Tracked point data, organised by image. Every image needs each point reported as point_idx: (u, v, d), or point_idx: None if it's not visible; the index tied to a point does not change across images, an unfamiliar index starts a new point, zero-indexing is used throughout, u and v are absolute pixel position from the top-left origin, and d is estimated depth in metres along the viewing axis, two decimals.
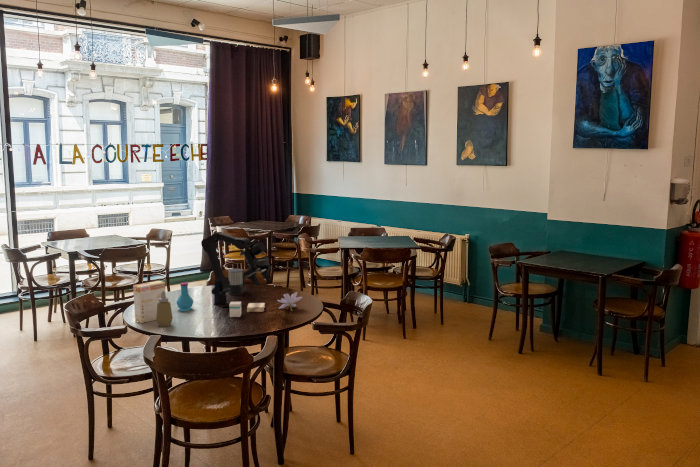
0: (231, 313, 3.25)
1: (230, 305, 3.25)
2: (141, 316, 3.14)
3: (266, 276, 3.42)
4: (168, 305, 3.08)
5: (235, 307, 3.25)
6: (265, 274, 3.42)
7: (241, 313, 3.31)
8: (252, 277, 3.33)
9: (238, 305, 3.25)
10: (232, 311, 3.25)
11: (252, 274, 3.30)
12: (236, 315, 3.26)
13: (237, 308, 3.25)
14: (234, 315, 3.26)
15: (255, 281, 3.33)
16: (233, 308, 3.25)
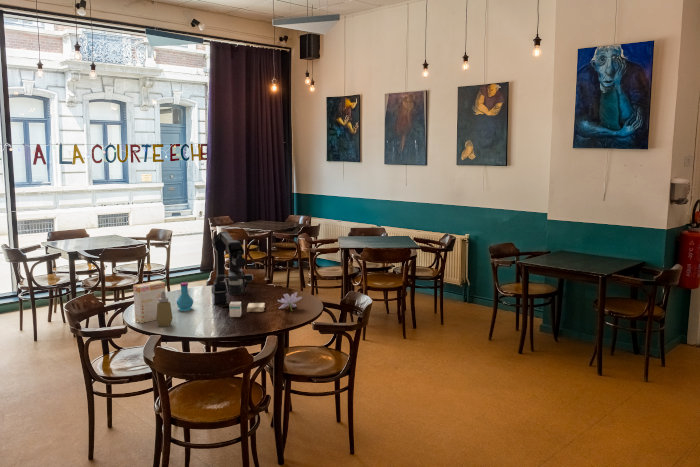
0: (231, 313, 3.25)
1: (230, 305, 3.25)
2: (141, 316, 3.14)
3: (244, 286, 3.27)
4: (168, 305, 3.08)
5: (235, 307, 3.25)
6: None
7: (241, 313, 3.31)
8: None
9: (238, 305, 3.25)
10: (232, 311, 3.25)
11: (219, 282, 3.23)
12: (236, 315, 3.26)
13: (237, 308, 3.25)
14: (234, 315, 3.26)
15: None
16: (233, 308, 3.25)
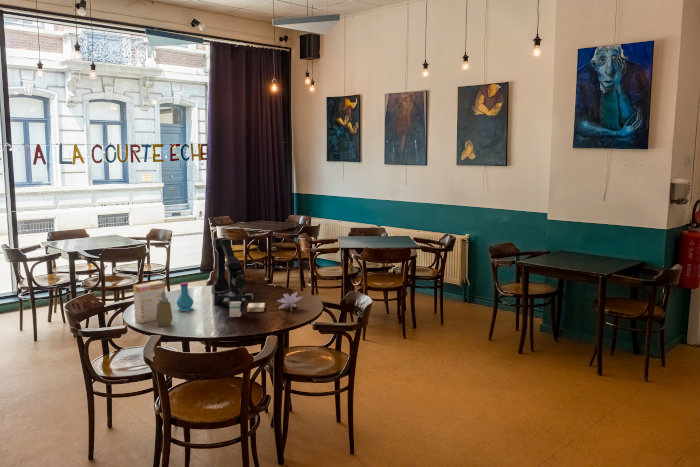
0: (231, 313, 3.25)
1: (230, 305, 3.25)
2: (141, 316, 3.14)
3: (241, 306, 3.28)
4: (168, 305, 3.08)
5: (235, 307, 3.25)
6: (241, 303, 3.28)
7: None
8: None
9: (238, 305, 3.25)
10: (232, 311, 3.25)
11: (222, 301, 3.25)
12: (236, 314, 3.26)
13: (237, 308, 3.25)
14: (234, 315, 3.26)
15: None
16: (233, 308, 3.25)
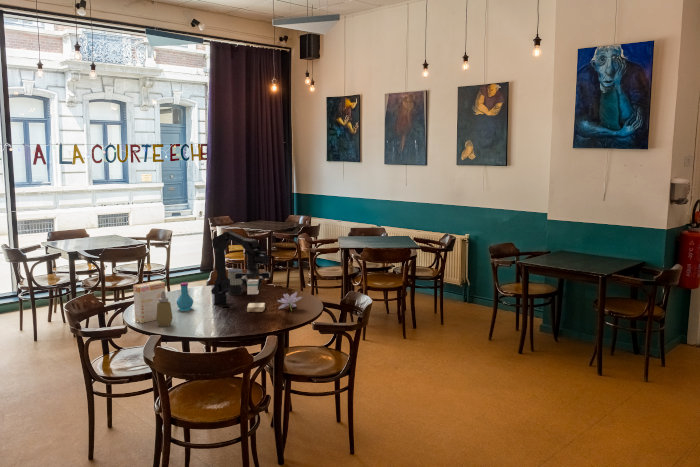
0: (249, 290, 3.34)
1: (248, 282, 3.33)
2: (141, 316, 3.14)
3: (258, 284, 3.36)
4: (168, 305, 3.08)
5: (253, 284, 3.34)
6: None
7: (258, 291, 3.40)
8: None
9: (255, 283, 3.33)
10: (249, 289, 3.34)
11: None
12: (253, 292, 3.34)
13: (254, 285, 3.34)
14: (252, 292, 3.34)
15: None
16: (251, 285, 3.34)
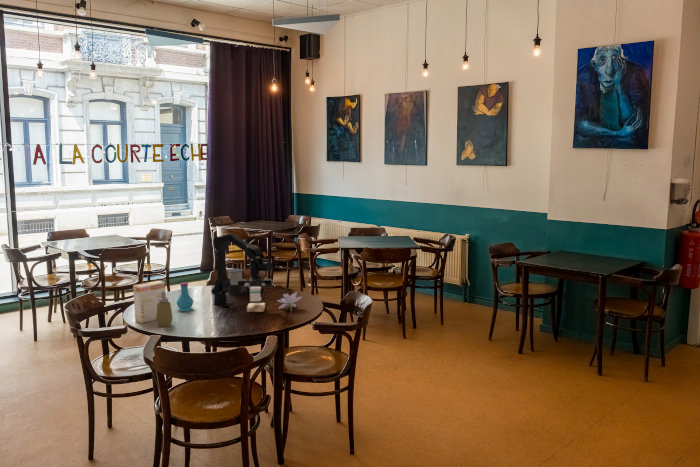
0: (251, 297, 3.36)
1: (250, 290, 3.35)
2: (141, 316, 3.14)
3: (261, 291, 3.39)
4: (168, 305, 3.08)
5: (255, 292, 3.36)
6: (261, 288, 3.39)
7: None
8: None
9: (258, 290, 3.36)
10: (252, 296, 3.36)
11: (243, 286, 3.35)
12: (256, 299, 3.36)
13: (257, 293, 3.36)
14: (254, 299, 3.36)
15: (248, 292, 3.38)
16: (253, 292, 3.36)
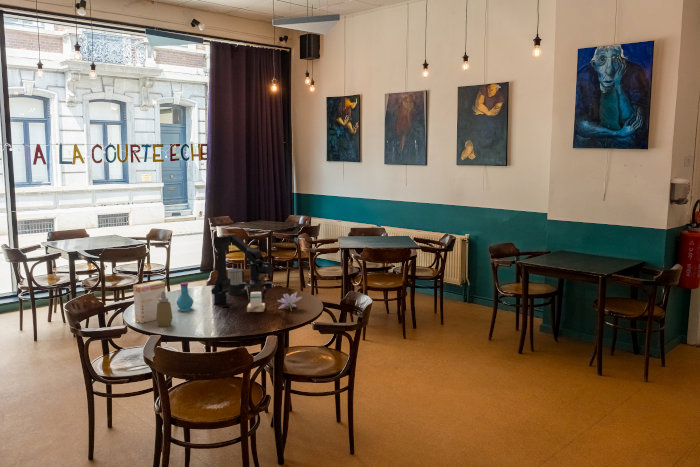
0: (252, 303, 3.37)
1: (251, 295, 3.36)
2: (141, 316, 3.14)
3: (263, 294, 3.39)
4: (168, 305, 3.08)
5: (256, 297, 3.36)
6: (263, 291, 3.39)
7: None
8: None
9: (259, 295, 3.36)
10: (252, 301, 3.36)
11: (241, 289, 3.36)
12: (256, 304, 3.37)
13: (258, 298, 3.36)
14: (255, 305, 3.37)
15: (246, 295, 3.39)
16: (254, 298, 3.36)
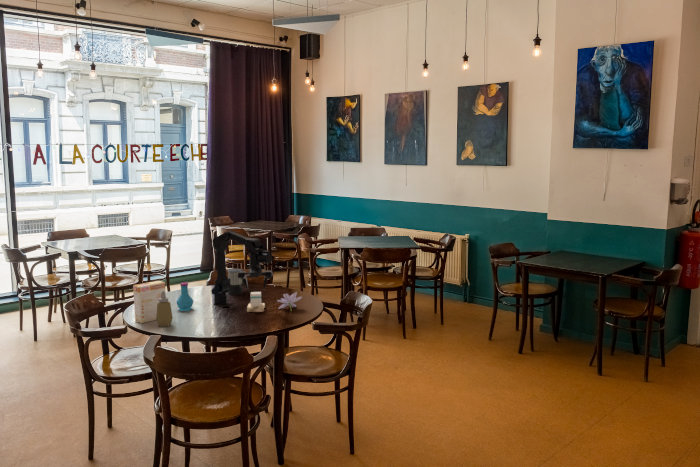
0: (252, 303, 3.37)
1: (251, 295, 3.36)
2: (141, 316, 3.14)
3: (264, 283, 3.38)
4: (168, 305, 3.08)
5: (256, 297, 3.36)
6: (264, 280, 3.38)
7: None
8: None
9: (259, 295, 3.36)
10: (253, 301, 3.36)
11: (240, 278, 3.35)
12: (257, 304, 3.37)
13: (258, 298, 3.36)
14: (255, 305, 3.37)
15: (245, 284, 3.38)
16: (254, 298, 3.36)
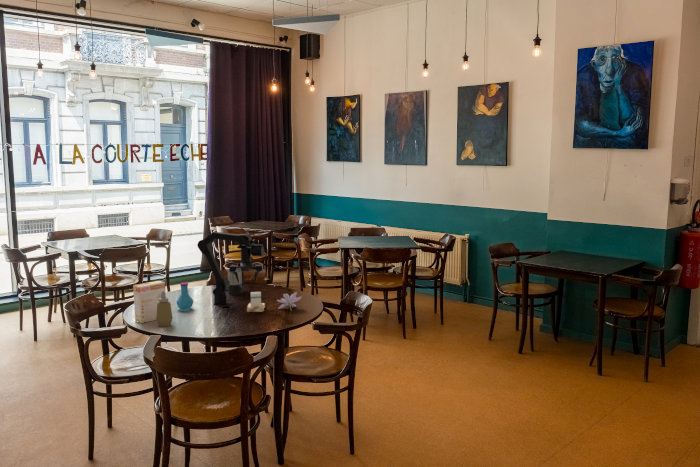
0: (252, 303, 3.36)
1: (251, 295, 3.36)
2: (141, 316, 3.14)
3: None
4: (168, 305, 3.08)
5: (256, 297, 3.36)
6: (255, 274, 3.48)
7: None
8: None
9: (259, 295, 3.36)
10: (253, 301, 3.36)
11: None
12: (257, 304, 3.37)
13: (258, 298, 3.37)
14: (255, 305, 3.37)
15: None
16: (254, 298, 3.36)
